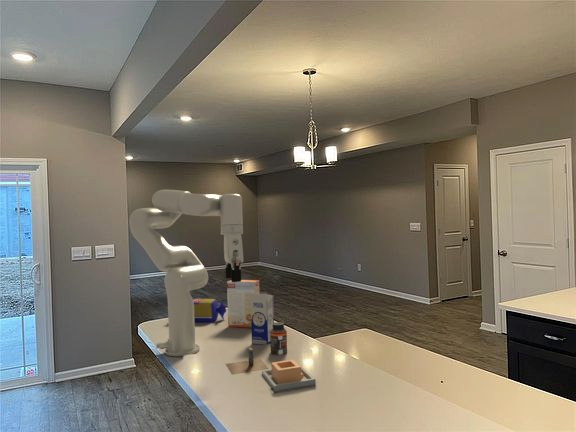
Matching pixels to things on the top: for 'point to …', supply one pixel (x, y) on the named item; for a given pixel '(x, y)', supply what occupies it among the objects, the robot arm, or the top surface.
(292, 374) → the ring
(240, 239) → the robot arm
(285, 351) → the supplement bottle
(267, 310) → the milk carton
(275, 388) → the tray
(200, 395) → the top surface
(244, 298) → the cracker box
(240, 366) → the brown board with hook
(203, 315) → the bread
